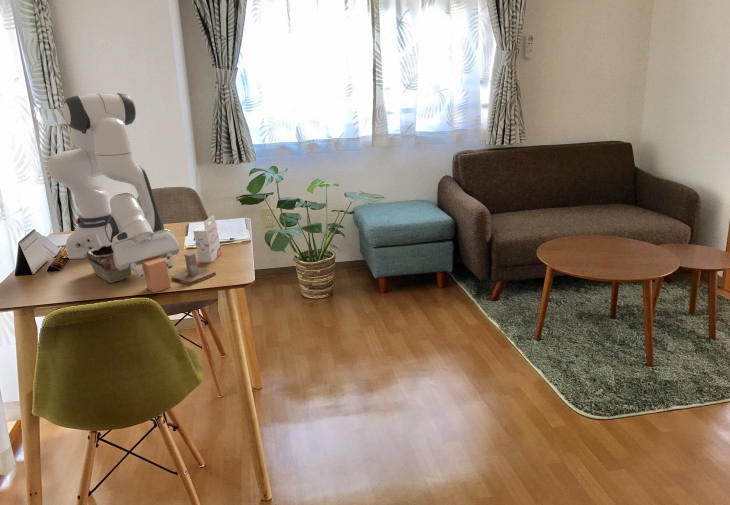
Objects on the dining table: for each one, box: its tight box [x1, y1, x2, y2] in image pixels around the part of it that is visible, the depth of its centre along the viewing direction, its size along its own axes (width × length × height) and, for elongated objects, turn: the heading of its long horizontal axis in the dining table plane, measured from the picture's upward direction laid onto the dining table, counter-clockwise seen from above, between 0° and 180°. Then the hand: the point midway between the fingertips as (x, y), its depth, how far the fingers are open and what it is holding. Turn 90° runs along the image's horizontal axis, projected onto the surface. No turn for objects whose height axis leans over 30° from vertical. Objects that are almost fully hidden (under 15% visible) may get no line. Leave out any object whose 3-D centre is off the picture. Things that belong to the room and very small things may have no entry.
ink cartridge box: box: [192, 215, 222, 263], centre depth 218 cm, size 9×5×15 cm, turn 168°
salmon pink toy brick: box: [141, 257, 172, 293], centre depth 196 cm, size 6×6×9 cm
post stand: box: [171, 252, 217, 286], centre depth 203 cm, size 10×10×8 cm
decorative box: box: [84, 244, 132, 284], centre depth 209 cm, size 13×20×10 cm, turn 36°
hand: (156, 271), depth 195 cm, fingers open, 8 cm apart
